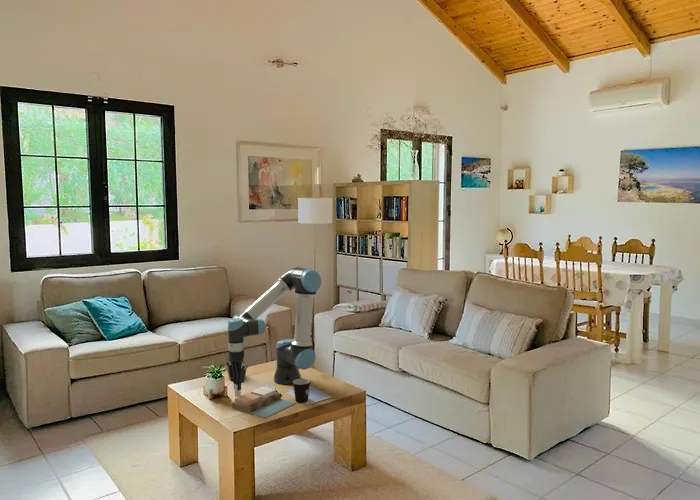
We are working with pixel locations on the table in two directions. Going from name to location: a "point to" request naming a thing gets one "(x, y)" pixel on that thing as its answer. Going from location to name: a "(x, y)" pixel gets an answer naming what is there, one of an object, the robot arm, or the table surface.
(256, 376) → the table surface
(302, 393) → the coffee mug
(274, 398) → the walnut board
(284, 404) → the slate mat
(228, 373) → the potted plant
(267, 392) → the cream coaster
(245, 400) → the terracotta coaster
